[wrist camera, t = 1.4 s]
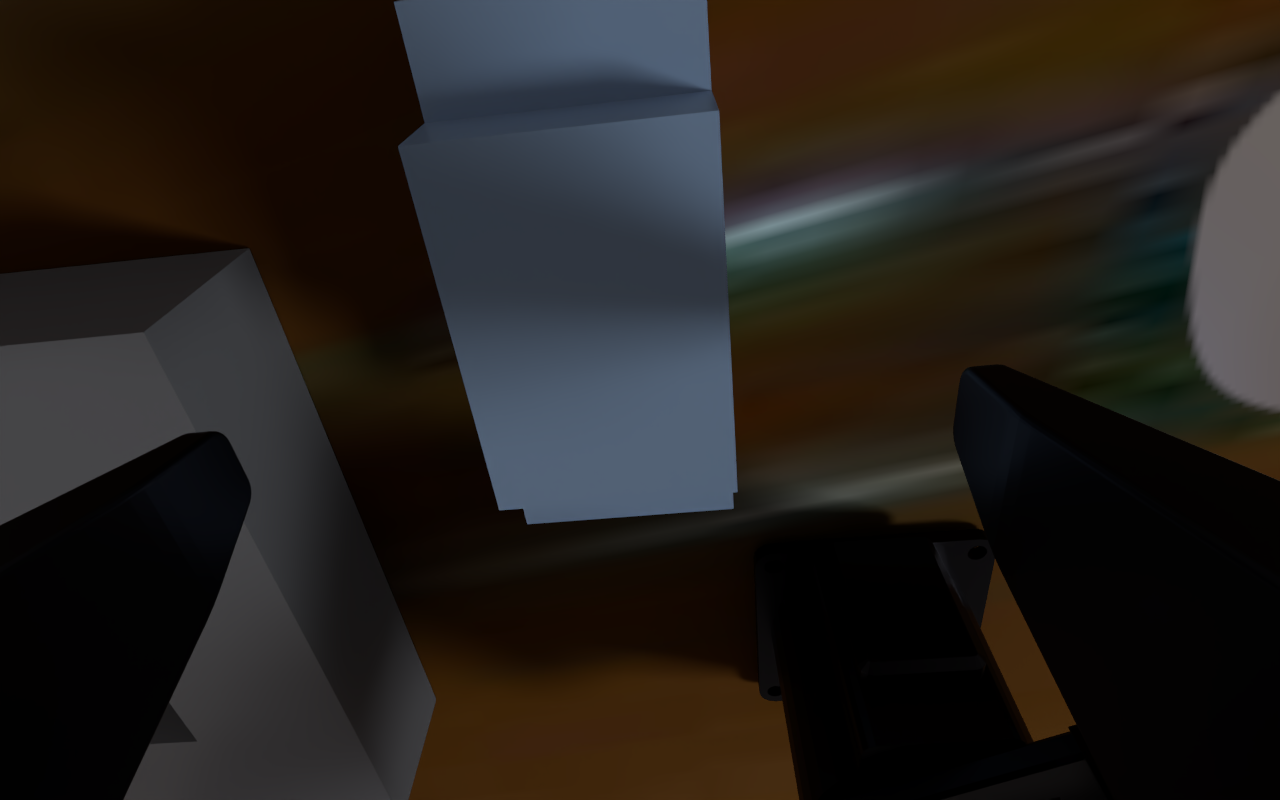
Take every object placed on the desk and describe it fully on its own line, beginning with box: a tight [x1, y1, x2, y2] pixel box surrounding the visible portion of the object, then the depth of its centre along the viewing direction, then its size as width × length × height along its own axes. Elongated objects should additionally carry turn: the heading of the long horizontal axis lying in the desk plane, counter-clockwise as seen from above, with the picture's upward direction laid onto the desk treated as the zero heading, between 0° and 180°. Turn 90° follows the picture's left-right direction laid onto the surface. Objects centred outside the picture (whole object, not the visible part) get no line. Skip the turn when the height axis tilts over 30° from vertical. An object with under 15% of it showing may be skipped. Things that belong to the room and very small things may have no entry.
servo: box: [394, 0, 738, 524], centre depth 13 cm, size 9×4×6 cm, turn 6°
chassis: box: [0, 248, 436, 800], centre depth 19 cm, size 16×14×4 cm
